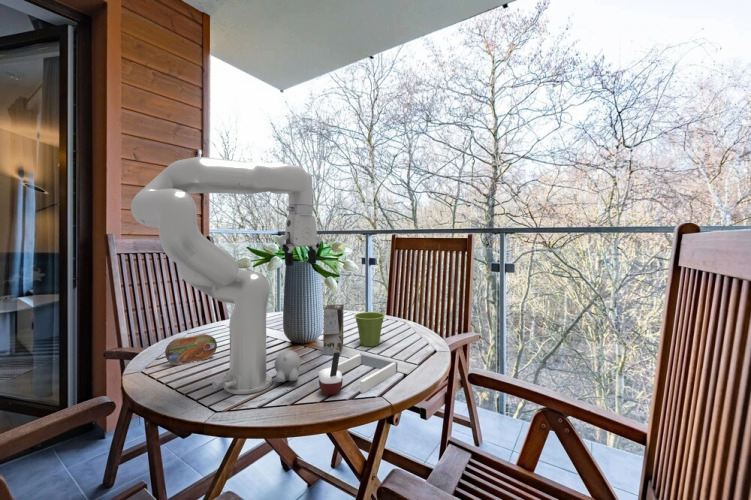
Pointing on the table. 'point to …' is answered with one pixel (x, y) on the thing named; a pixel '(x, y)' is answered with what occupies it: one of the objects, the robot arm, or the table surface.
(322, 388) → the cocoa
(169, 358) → the tin
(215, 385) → the robot arm
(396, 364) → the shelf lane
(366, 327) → the plant pot
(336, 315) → the coffee box
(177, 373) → the table surface
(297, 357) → the chubby cartoon animal
